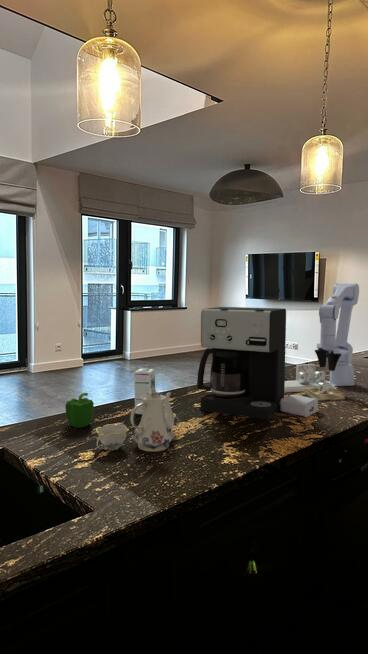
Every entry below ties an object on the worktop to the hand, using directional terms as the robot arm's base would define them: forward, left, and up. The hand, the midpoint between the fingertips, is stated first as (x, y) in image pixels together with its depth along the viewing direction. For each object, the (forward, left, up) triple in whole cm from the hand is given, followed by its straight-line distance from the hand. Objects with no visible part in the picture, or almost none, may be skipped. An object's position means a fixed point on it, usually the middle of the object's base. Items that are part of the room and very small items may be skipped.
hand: (327, 368), depth 179 cm
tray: (+4, +6, -9) cm, 12 cm away
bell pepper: (+95, +26, -10) cm, 99 cm away
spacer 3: (+4, +6, -9) cm, 11 cm away
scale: (+6, -9, -9) cm, 14 cm away
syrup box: (+74, +15, -10) cm, 76 cm away
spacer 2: (-1, -8, -7) cm, 11 cm away
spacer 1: (+6, -8, -7) cm, 12 cm away
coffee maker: (+42, +15, -10) cm, 45 cm away
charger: (+25, +22, -10) cm, 34 cm away
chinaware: (+76, +45, -10) cm, 89 cm away
